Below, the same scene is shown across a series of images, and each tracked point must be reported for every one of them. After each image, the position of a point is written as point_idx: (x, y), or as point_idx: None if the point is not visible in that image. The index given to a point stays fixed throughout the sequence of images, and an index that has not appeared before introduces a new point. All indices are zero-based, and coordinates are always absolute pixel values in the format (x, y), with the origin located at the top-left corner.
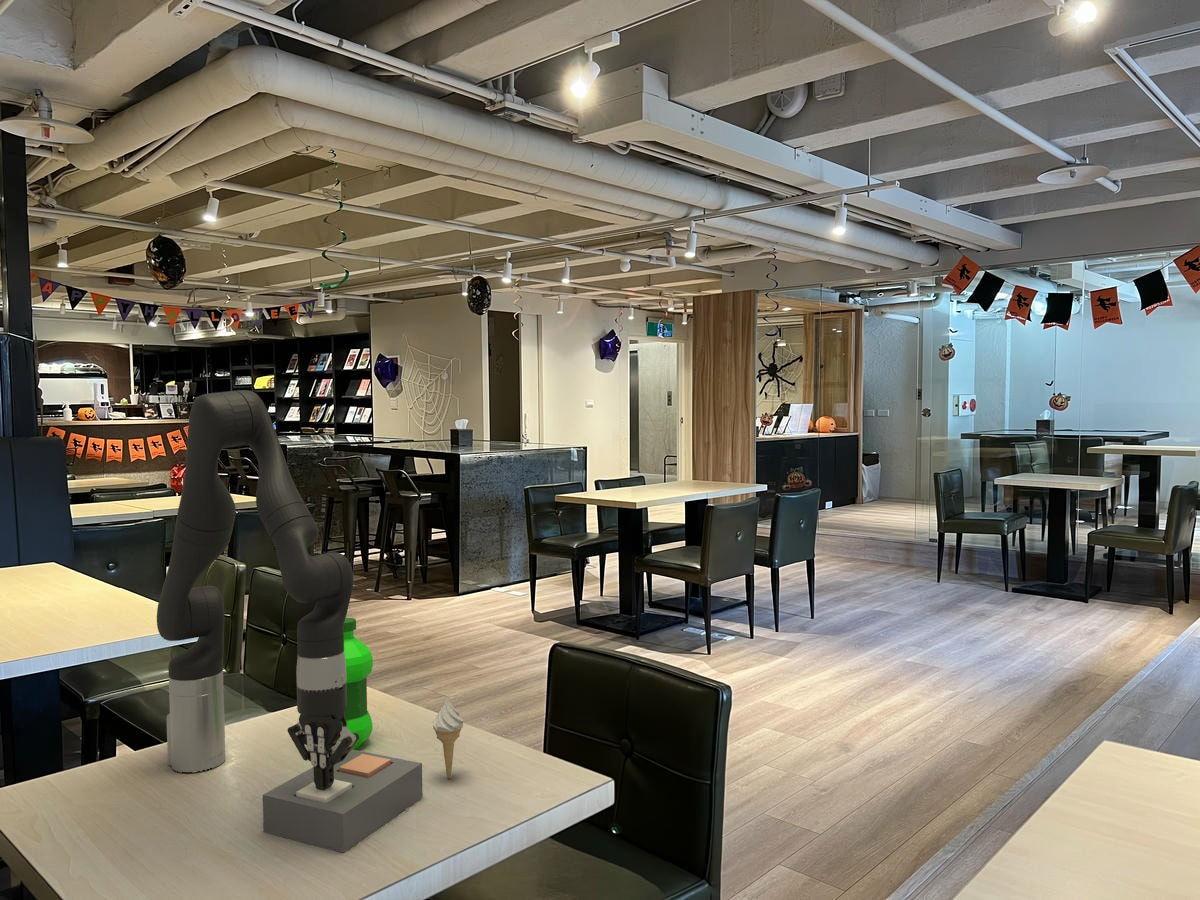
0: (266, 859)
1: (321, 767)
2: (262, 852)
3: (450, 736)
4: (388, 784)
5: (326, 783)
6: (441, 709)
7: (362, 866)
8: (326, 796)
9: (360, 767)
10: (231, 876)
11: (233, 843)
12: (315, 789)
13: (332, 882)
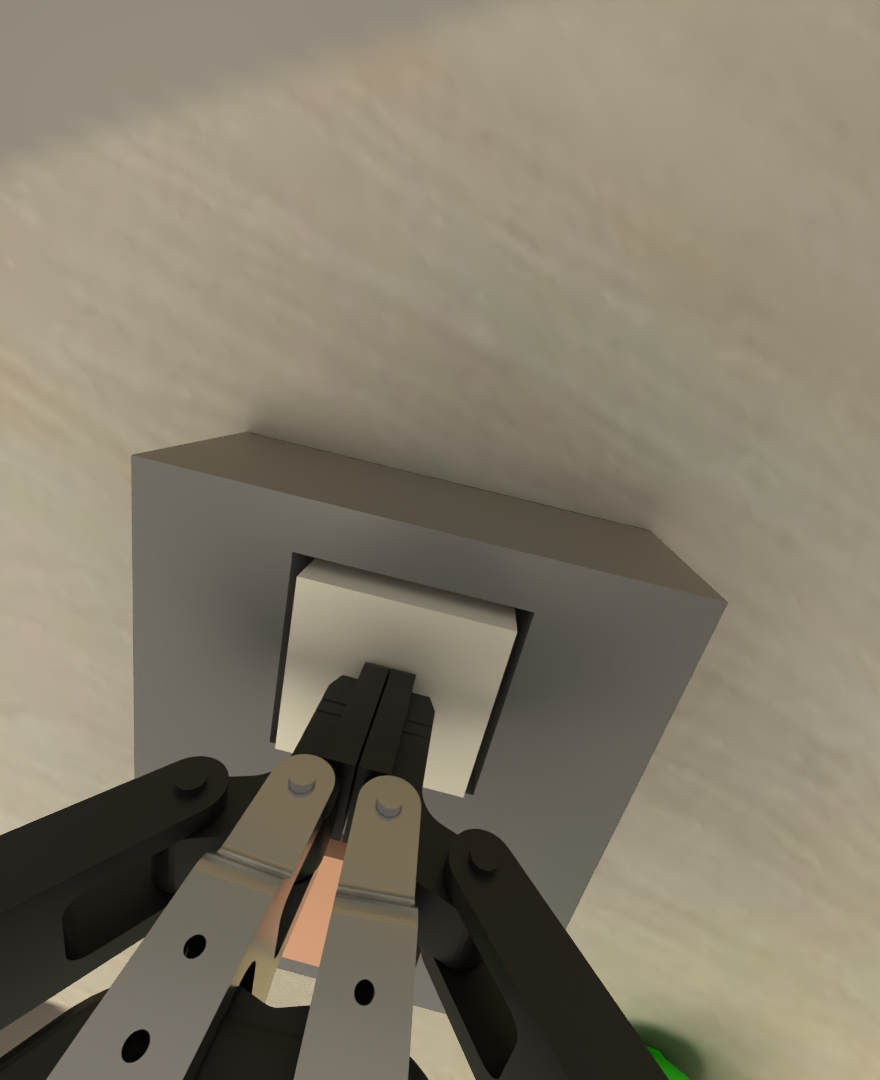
0: (524, 319)
1: (322, 761)
2: (572, 373)
3: None
4: (136, 765)
5: (337, 689)
6: None
7: (122, 350)
8: (311, 602)
9: (332, 885)
10: (613, 127)
11: (743, 421)
12: (421, 670)
13: (151, 198)
